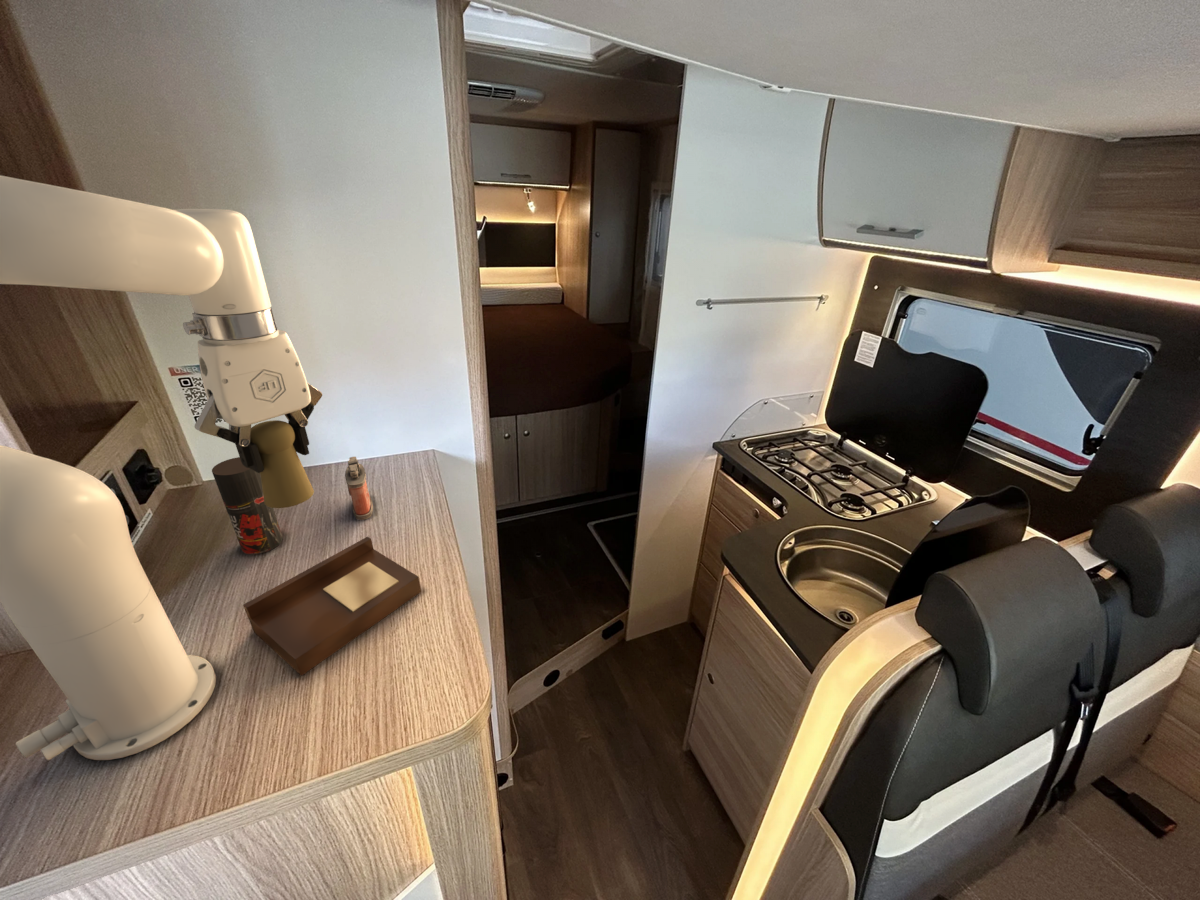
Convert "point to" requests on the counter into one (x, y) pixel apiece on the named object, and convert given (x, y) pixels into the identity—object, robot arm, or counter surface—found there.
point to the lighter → (358, 489)
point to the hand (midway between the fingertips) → (278, 459)
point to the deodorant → (247, 507)
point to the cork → (280, 465)
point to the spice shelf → (330, 604)
